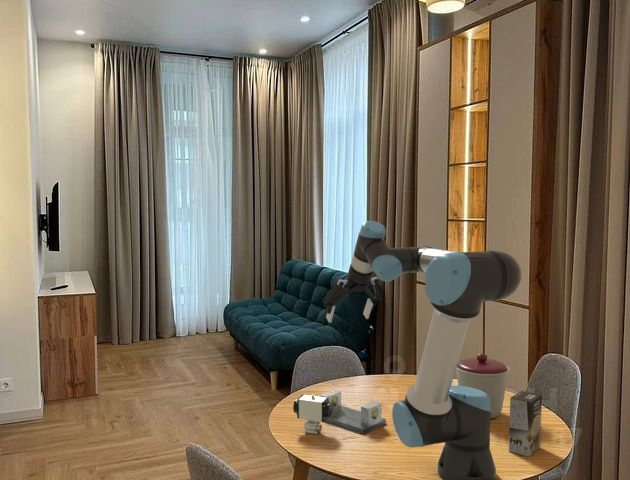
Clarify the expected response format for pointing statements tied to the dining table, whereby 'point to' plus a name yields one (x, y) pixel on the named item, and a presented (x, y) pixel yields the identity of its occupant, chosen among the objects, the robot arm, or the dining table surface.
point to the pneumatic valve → (312, 411)
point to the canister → (485, 379)
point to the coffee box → (525, 423)
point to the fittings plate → (354, 414)
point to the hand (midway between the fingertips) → (347, 318)
